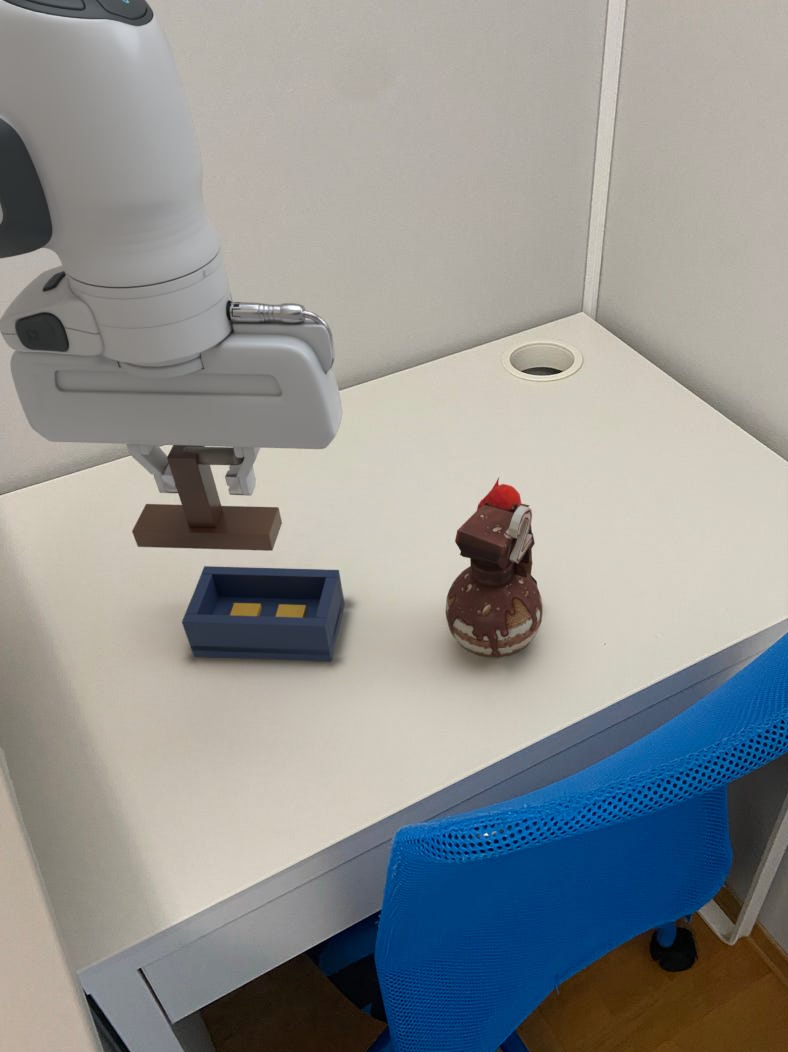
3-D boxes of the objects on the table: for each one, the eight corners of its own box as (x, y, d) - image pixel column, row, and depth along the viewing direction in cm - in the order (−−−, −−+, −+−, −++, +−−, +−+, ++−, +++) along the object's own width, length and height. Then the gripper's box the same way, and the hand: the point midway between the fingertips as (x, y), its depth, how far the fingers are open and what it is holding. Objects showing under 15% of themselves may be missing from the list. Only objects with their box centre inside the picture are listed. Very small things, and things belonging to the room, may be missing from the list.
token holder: (193, 657, 80) (181, 622, 77) (214, 600, 85) (204, 565, 82) (331, 661, 80) (324, 626, 77) (345, 604, 85) (339, 569, 82)
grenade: (479, 590, 86) (474, 453, 75) (561, 616, 83) (569, 477, 72) (431, 659, 80) (419, 521, 69) (518, 689, 77) (520, 550, 66)
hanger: (137, 547, 68) (104, 460, 63) (151, 519, 70) (121, 433, 65) (272, 551, 67) (251, 463, 62) (282, 523, 70) (262, 436, 64)
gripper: (337, 280, 57) (361, 467, 67) (15, 275, 59) (85, 459, 69) (317, 330, 53) (346, 522, 63) (-31, 324, 54) (52, 512, 64)
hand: (208, 489), depth 66 cm, fingers closed on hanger, 3 cm apart
